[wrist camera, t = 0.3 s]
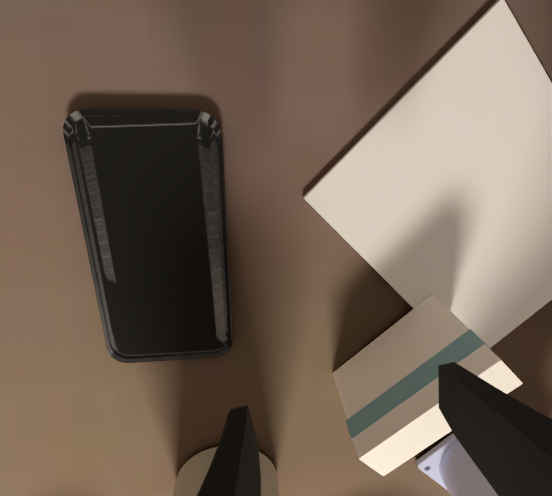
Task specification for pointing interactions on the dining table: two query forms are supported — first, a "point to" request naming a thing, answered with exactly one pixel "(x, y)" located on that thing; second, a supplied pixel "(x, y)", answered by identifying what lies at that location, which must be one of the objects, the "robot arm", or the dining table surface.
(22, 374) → the dining table surface
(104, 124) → the phone
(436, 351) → the card deck
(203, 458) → the travel mug
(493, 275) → the mat
